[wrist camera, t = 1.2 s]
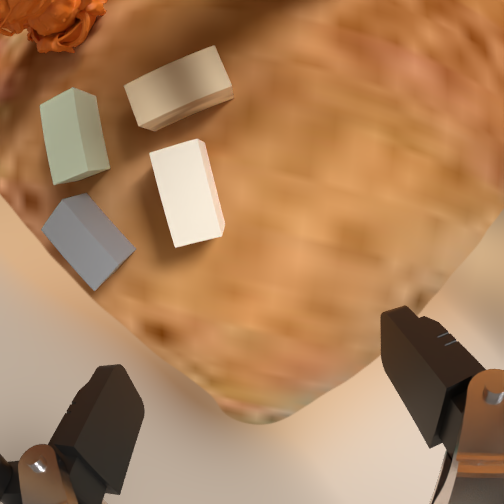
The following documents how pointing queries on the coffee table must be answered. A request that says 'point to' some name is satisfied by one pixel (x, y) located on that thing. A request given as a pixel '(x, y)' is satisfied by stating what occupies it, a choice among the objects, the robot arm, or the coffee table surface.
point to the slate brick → (87, 239)
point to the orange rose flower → (51, 21)
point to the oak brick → (179, 89)
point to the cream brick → (188, 192)
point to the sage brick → (73, 136)
